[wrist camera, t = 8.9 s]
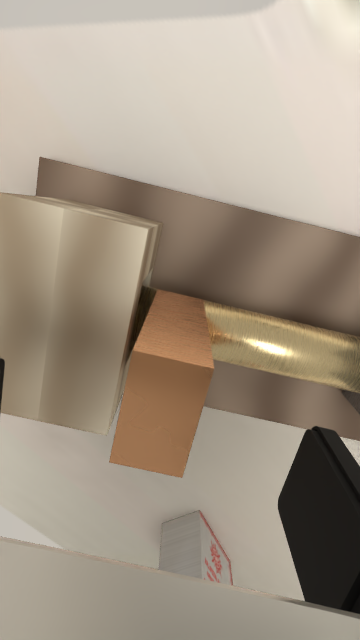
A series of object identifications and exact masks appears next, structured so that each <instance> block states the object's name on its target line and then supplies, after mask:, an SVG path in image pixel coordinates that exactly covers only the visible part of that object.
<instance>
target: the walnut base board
mask: <svg viewBox="0 0 360 640" xmlns="http://www.w3.org/2000/svg"><path fill="white" fill-rule="evenodd" d="M36 196H38V197H48V198H57V199H67V200H72V201H76V202H80V203H84V204H88V205H92V206H96V207H100V208H104V209H108V210H112V211H116V212H120V213H124V214H129V215H133V216H137V217H141V218H145V219H149V220H153V221H157V222H161V223H163V227H162V232H161V237H160V241H159V246H158V251H157V255H156V260H155V265H154V269H153V274H152V279H151V284H150V287H151V288H155V289H160V290H164V291H168V292H172V293H176V294H181V295H185V296H189V297H193V298H197V299H202V300H206V301H210V302H214V303H218V304H223V305H227V306H231V307H235V308H239V309H244V310H248V311H252V312H256V313H261V314H265V315H269V316H273V317H277V318H282V319H286V320H290V321H294V322H298V323H303V324H307V325H311V326H315V327H319V328H324V329H328V330H332V331H336V332H341V333H345V334H349V335H353V336H357V337H360V237H357V236H353V235H349V234H345V233H341V232H337V231H333V230H329V229H325V228H321V227H317V226H313V225H309V224H305V223H301V222H297V221H293V220H289V219H285V218H281V217H277V216H273V215H269V214H265V213H261V212H257V211H253V210H249V209H245V208H241V207H237V206H233V205H229V204H226V203H222V202H218V201H214V200H210V199H206V198H202V197H198V196H194V195H190V194H186V193H182V192H178V191H174V190H170V189H166V188H162V187H158V186H154V185H150V184H146V183H142V182H138V181H134V180H130V179H126V178H122V177H118V176H114V175H110V174H106V173H102V172H98V171H94V170H90V169H86V168H82V167H78V166H74V165H70V164H66V163H62V162H58V161H54V160H50V159H46V158H42V157H40V158H39V168H38V178H37V189H36ZM213 363H214V372H213V375H212V378H211V382H210V385H209V388H208V392H207V395H206V399H205V402H204V405H203V406H206V407H210V408H214V409H219V410H223V411H228V412H232V413H237V414H241V415H246V416H250V417H255V418H259V419H264V420H268V421H273V422H277V423H282V424H286V425H291V426H295V427H300V428H304V429H310V430H311V429H312V428H313V427H314V426H318V427H323V428H327V429H331V430H335V431H336V432H337V434H338V435H339V436H340V437H344V438H349V439H353V440H358V441H360V415H359V413H358V412H357V411H356V410H355V409H354V407H353V406H352V405H351V404H350V403H349V401H348V400H347V399H346V398H345V397H344V395H343V394H342V393H341V392H342V390H343V389H339V388H335V387H330V386H326V385H322V384H317V383H313V382H309V381H304V380H300V379H296V378H291V377H287V376H282V375H278V374H274V373H269V372H265V371H261V370H256V369H252V368H248V367H243V366H239V365H235V364H230V363H226V362H222V361H217V360H213Z"/></svg>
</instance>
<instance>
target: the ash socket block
mask: <svg viewBox="0 0 360 640" xmlns="http://www.w3.org/2000/svg"><path fill="white" fill-rule="evenodd" d="M162 227H163V223H161V222H157V221H153V220H149V219H145V218H141V217H137V216H133V215H129V214H124V213H120V212H116V211H112V210H108V209H104V208H100V207H96V206H92V205H88V204H84V203H80V202H76V201H72V200H67V199H57V198H48V197H38V196H29V195H19V194H9V193H0V358H2V359H4V361H5V369H4V380H3V391H2V401H1V412H0V413H4V414H9V415H14V416H18V417H23V418H27V419H32V420H37V421H41V422H46V423H51V424H55V425H60V426H64V427H69V428H74V429H78V430H83V431H87V432H92V433H97V434H101V435H106V436H107V434H108V431H109V429H110V426H111V423H112V420H113V418H114V415H115V412H116V410H117V407H118V404H119V402H120V399H121V396H122V394H123V391H124V388H125V384H126V379H127V375H128V370H129V365H130V360H131V355H132V351H133V348H134V346H135V343H136V342H135V341H131V336H132V331H133V326H134V321H135V317H136V312H137V307H138V302H139V297H140V292H141V287H142V285H143V286H147V287H150V284H151V279H152V274H153V269H154V265H155V260H156V255H157V251H158V246H159V241H160V237H161V232H162Z"/></svg>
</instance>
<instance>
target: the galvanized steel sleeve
mask: <svg viewBox="0 0 360 640" xmlns="http://www.w3.org/2000/svg"><path fill="white" fill-rule="evenodd" d="M341 393H342V394H343V395H344V397H345V398H346V399H347V400H348V401H349V403H350V404H351V405H352V406H353V407H354V409H355V410H356V411H357V412H358V413H359V415H360V393H356V392H352V391H348V390H342V392H341Z"/></svg>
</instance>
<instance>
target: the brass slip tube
mask: <svg viewBox="0 0 360 640" xmlns="http://www.w3.org/2000/svg"><path fill="white" fill-rule="evenodd" d="M131 341H135V342H136V343H135V346H134V348H133V351H132V355H131V360H130V365H129V370H128V375H127V379H126V384H125V389H124V394H123V399H122V403H121V408H120V413H119V418H118V422H117V427H116V432H115V437H114V442H113V446H112V451H111V456H110V461H109V462H110V463H115V464H120V465H124V466H129V467H134V468H138V469H143V470H148V471H152V472H157V473H162V474H167V475H171V476H176V477H181V478H182V476H183V473H184V470H185V466H186V463H187V459H188V456H189V453H190V449H191V446H192V442H193V439H194V436H195V432H196V429H197V426H198V422H199V419H200V415H201V412H202V409H203V405H204V402H205V399H206V395H207V392H208V388H209V385H210V382H211V378H212V375H213V372H214V363H213V360H217V361H222V362H226V363H230V364H235V365H239V366H243V367H248V368H252V369H256V370H261V371H265V372H269V373H274V374H278V375H282V376H287V377H291V378H296V379H300V380H304V381H309V382H313V383H317V384H322V385H326V386H330V387H335V388H339V389H343V390H348V391H352V392H356V393H360V337H357V336H353V335H349V334H345V333H341V332H336V331H332V330H328V329H324V328H319V327H315V326H311V325H307V324H303V323H298V322H294V321H290V320H286V319H282V318H277V317H273V316H269V315H265V314H261V313H256V312H252V311H248V310H244V309H239V308H235V307H231V306H227V305H223V304H218V303H214V302H210V301H206V300H202V299H197V298H193V297H189V296H185V295H181V294H176V293H172V292H168V291H164V290H160V289H155V288H151V287H147V286H143V285H142V287H141V292H140V297H139V302H138V307H137V312H136V317H135V321H134V326H133V331H132V336H131Z"/></svg>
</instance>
